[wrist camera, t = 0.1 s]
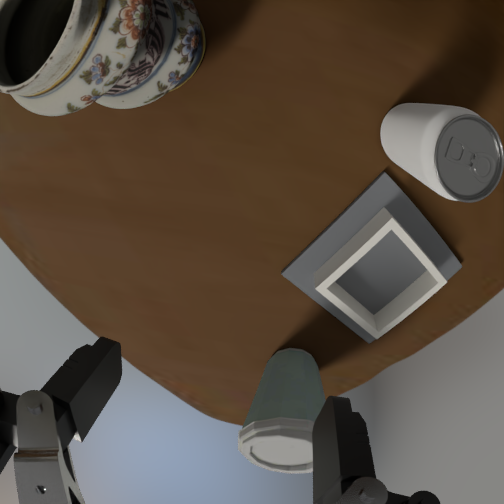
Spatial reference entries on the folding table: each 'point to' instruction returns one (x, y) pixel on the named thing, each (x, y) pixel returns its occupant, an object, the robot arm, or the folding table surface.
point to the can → (445, 149)
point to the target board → (374, 261)
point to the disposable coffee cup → (284, 414)
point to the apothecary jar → (96, 52)
